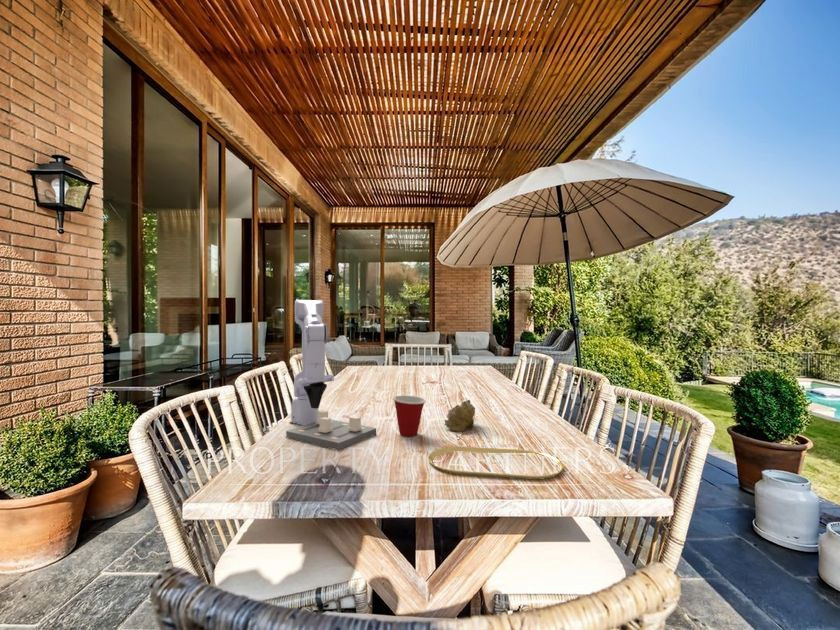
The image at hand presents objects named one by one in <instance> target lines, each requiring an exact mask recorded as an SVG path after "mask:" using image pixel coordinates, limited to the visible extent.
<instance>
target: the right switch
mask: <svg viewBox="0 0 840 630" xmlns="http://www.w3.org/2000/svg"><path fill="white" fill-rule="evenodd" d="M348 420H349V422H348V423H349V427H348V430H349V431H354V432H356V431H359V430H362V427H361V424H362V423H361V422H362V421H361V420H362V417H361V416H356V415H352V416H350V417H349V419H348Z"/></svg>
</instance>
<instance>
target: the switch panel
mask: <svg viewBox="0 0 840 630" xmlns="http://www.w3.org/2000/svg"><path fill="white" fill-rule="evenodd" d="M348 427H349V422H347V421H341V420H336V419H331V428H333V431H330V432H327V433H323V432H319V431H318V429H319V428H320V424H316V422H314V423H310V424H307V425H300V426H299V427H294V428H292V429H291V428H290V429H288V430H286V432H285V434H286V435H285V437H286V438H287V437H288V438H289V439H292V440H297V441H301V442H305V443H308V444H313V445H317V446H322V447H325V446H326V447H325V448H329V447H330V448H329V449H333V448H334V449H333V450H336V451H337V450H338V451H339V450H341V449H344V448H346V447H349V446H351V445H354V444H356V443H359V442H361V441H364V440H365V439H369V438H371V437H372V436H373V437H374V436H375V435H377V428H376V427H373V426H367V425H361V427H362V430H359V431H356V432H354V431H349V430H348ZM288 438H287V439H288Z"/></svg>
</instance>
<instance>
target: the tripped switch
mask: <svg viewBox="0 0 840 630" xmlns="http://www.w3.org/2000/svg"><path fill="white" fill-rule="evenodd" d="M331 420H332V418H331V417H328V418H327V417H322V418H320V428H319V429H318V431H319V432H323V433H327V432H330V431H333V428H331Z"/></svg>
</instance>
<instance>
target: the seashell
mask: <svg viewBox="0 0 840 630" xmlns="http://www.w3.org/2000/svg"><path fill="white" fill-rule="evenodd" d="M475 413H476V407H475V406H473V404H472V403H471V400H470V399H467V400H464V401H463V402H461V404H460V405H459V404H457V405H455V406H454V407H453V408H452V409H450V410H448V413H447V415H446V418H447V419H444V426H446V428H448V429H450V430H452V431H454V432H456V433H457V432H459V433H461V432H466V431H471V430H473V429H474V424H475V423H474V422H475V419H474V417H475Z"/></svg>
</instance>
